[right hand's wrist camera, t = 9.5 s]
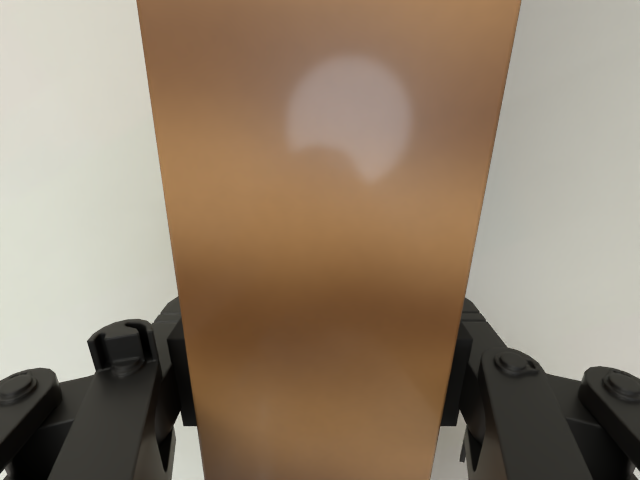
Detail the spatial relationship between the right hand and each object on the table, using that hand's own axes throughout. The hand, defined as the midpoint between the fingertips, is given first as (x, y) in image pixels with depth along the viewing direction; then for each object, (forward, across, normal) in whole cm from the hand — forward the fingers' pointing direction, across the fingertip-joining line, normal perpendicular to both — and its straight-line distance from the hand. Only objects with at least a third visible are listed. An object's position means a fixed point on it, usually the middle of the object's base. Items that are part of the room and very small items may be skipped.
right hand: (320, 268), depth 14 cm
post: (+1, 0, -24) cm, 24 cm away
